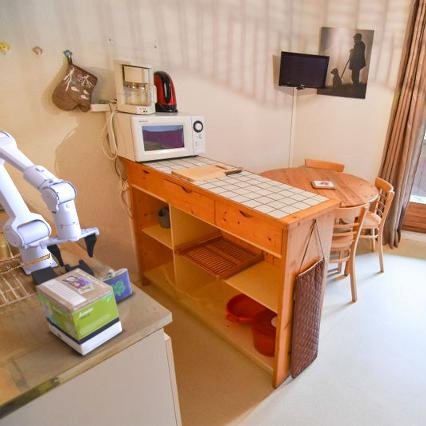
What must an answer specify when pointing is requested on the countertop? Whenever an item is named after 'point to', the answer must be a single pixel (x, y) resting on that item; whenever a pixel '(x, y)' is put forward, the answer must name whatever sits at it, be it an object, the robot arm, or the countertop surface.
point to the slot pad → (82, 266)
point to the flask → (118, 283)
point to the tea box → (80, 310)
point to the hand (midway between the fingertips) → (76, 260)
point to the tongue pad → (43, 275)
